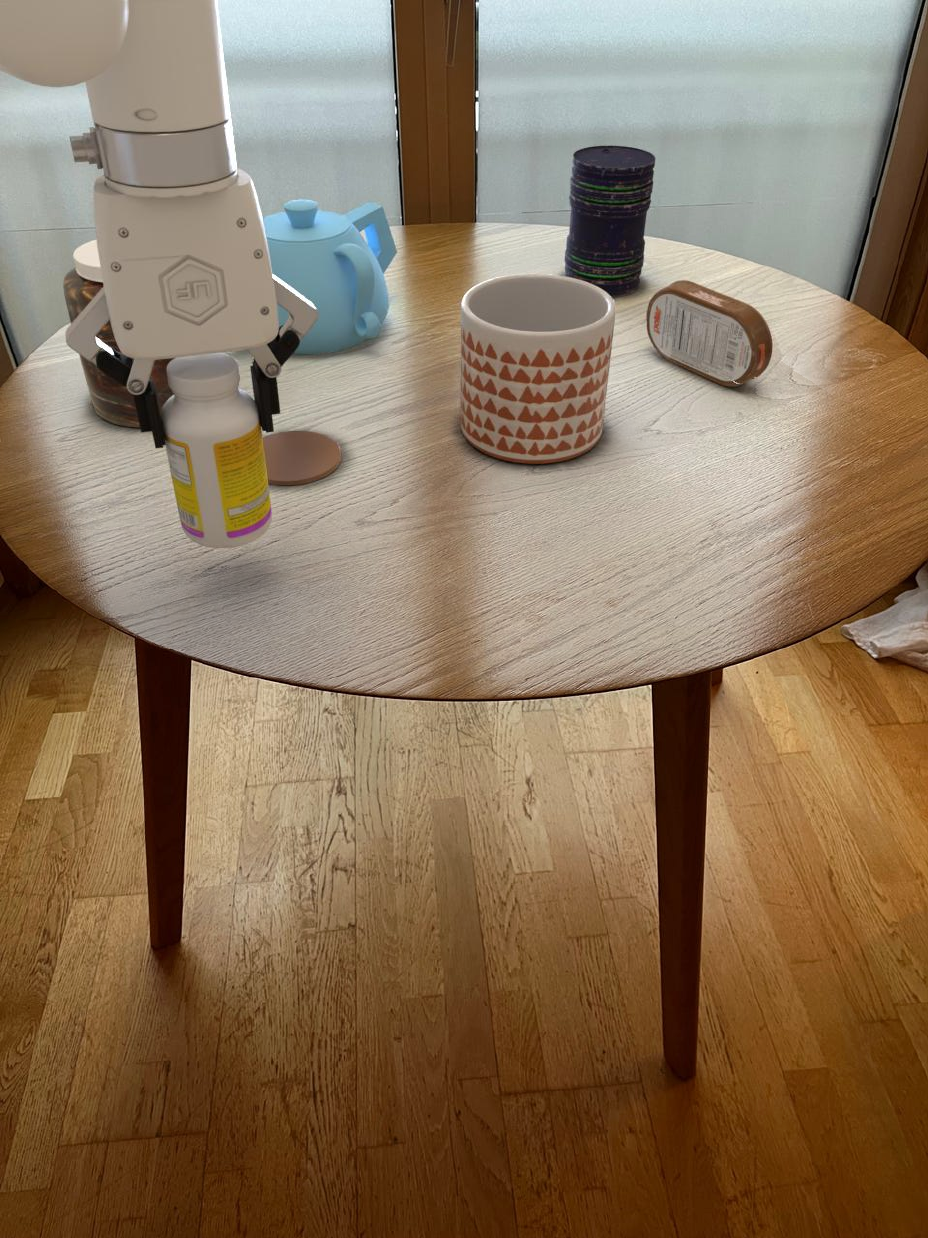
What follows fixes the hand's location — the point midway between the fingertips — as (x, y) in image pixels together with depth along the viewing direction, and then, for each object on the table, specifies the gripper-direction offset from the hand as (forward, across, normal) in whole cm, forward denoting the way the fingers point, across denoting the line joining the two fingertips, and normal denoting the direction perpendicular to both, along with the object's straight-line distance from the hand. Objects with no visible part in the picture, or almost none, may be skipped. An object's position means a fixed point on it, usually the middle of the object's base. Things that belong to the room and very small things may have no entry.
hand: (212, 429), depth 67 cm
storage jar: (+12, +54, +46) cm, 72 cm away
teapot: (+12, +16, +45) cm, 50 cm away
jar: (+13, -3, +32) cm, 35 cm away
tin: (+12, +53, +20) cm, 58 cm away
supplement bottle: (+8, 0, 0) cm, 8 cm away
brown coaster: (+13, +8, +16) cm, 22 cm away
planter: (+12, +31, +14) cm, 36 cm away
